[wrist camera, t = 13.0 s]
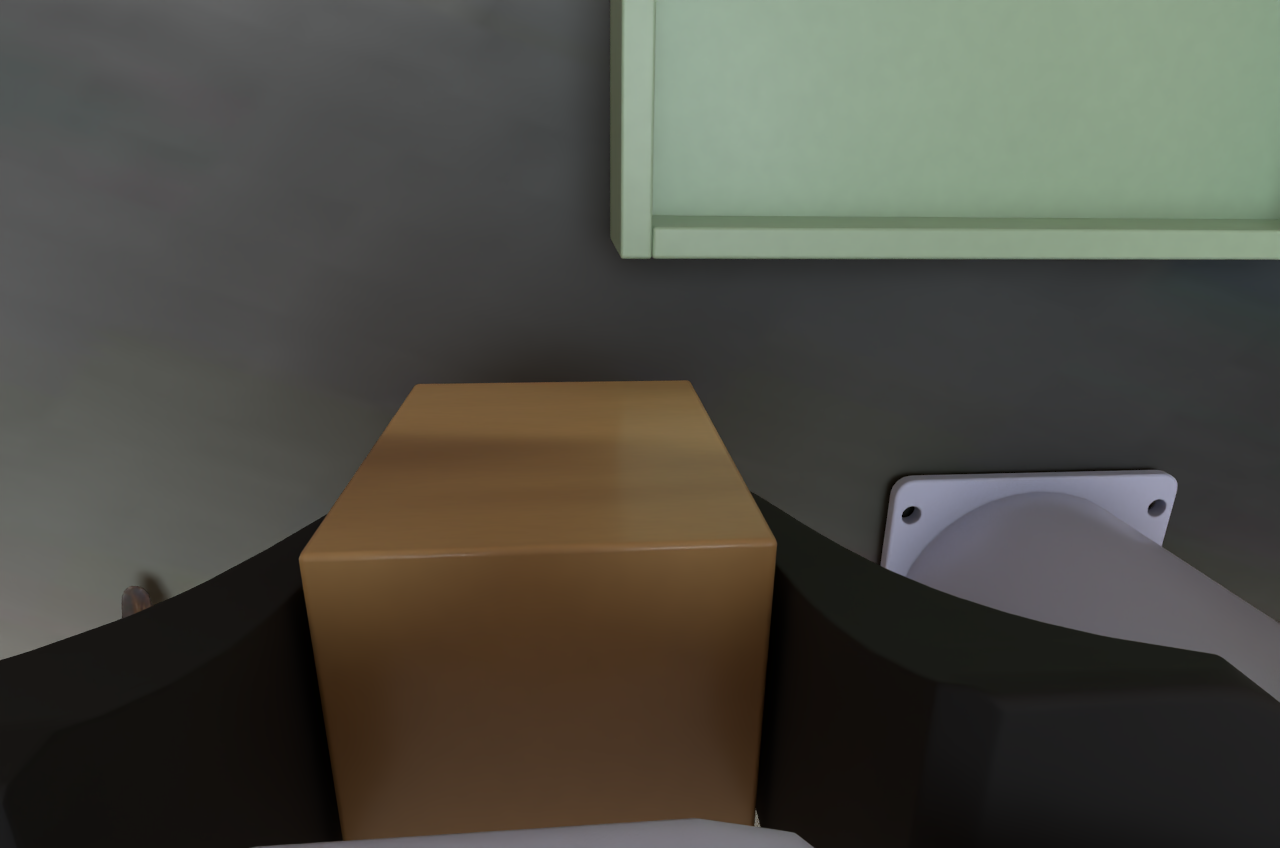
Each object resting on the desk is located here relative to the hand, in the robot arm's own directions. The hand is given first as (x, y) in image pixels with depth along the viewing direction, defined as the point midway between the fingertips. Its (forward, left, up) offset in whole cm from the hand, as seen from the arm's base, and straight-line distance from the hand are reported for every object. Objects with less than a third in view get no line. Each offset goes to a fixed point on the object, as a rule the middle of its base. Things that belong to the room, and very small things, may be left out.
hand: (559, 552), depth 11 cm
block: (0, 0, -2) cm, 2 cm away
